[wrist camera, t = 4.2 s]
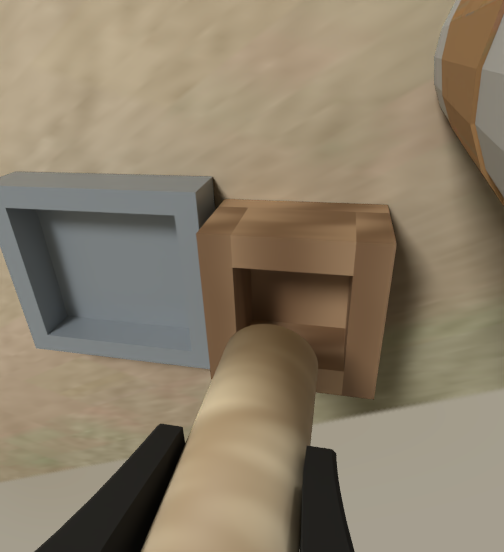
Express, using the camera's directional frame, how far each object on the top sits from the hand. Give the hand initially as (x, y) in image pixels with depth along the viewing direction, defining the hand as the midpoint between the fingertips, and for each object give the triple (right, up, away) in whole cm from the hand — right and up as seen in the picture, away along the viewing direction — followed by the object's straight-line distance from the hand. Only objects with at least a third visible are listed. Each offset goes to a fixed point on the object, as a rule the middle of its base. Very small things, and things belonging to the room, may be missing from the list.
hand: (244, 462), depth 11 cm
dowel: (+1, +2, +3) cm, 4 cm away
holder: (+2, +5, +9) cm, 10 cm away
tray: (-6, +6, +11) cm, 14 cm away
